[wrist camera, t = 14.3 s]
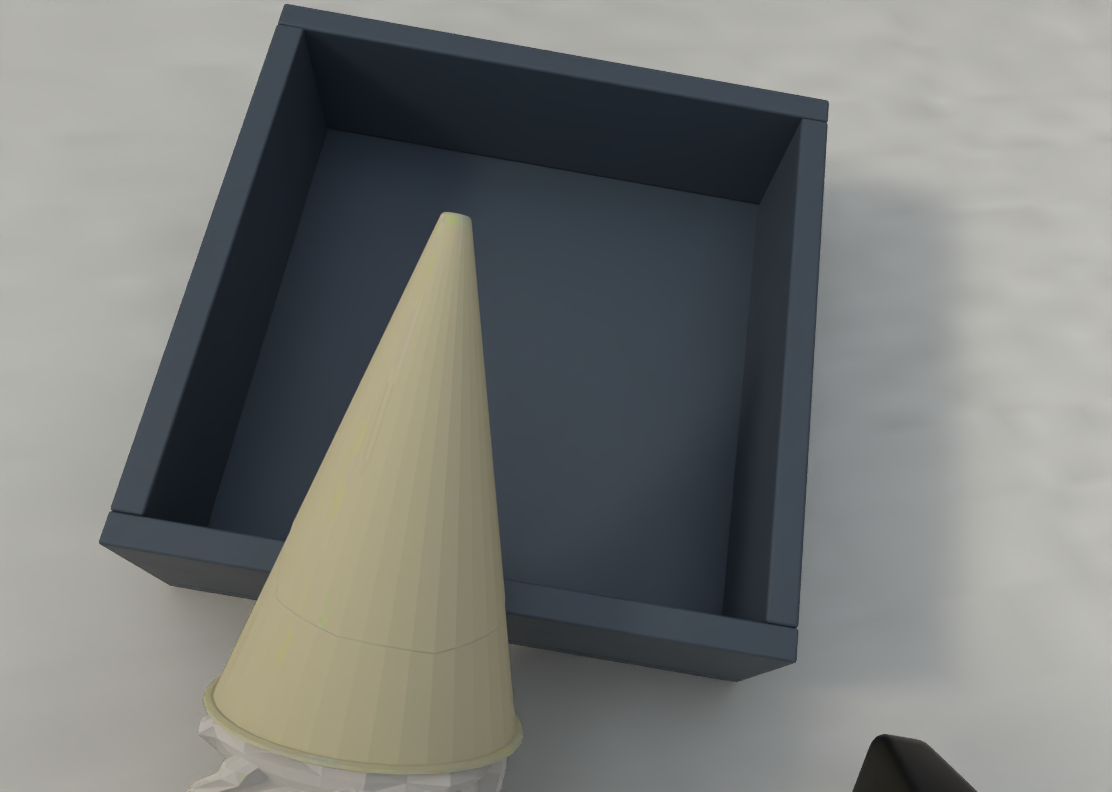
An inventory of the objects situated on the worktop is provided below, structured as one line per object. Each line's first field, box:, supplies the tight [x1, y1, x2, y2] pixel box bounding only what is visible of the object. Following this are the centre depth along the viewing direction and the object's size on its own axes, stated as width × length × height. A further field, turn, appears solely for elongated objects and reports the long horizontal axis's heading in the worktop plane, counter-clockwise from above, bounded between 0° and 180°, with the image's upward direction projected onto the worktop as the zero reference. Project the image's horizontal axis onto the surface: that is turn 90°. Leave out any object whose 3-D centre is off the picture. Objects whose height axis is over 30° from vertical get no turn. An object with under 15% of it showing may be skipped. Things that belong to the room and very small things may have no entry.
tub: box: [99, 4, 829, 682], centre depth 20 cm, size 12×12×4 cm
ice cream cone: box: [188, 212, 524, 792], centre depth 15 cm, size 5×5×15 cm
